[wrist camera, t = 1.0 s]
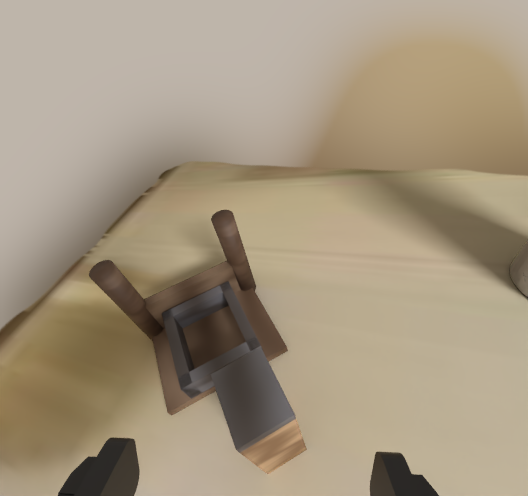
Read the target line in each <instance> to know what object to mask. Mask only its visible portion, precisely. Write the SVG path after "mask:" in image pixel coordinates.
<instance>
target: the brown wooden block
mask: <svg viewBox="0 0 528 496" xmlns="http://www.w3.org/2000/svg"><path fill="white" fill-rule="evenodd" d="M211 377H212V380H213V383H214V386H215V389H216V392H217V395H218V398H219V401H220V404H221V407H222V409H223V412H224V415H225V418H226V421H227V424H228V427H229V430H230V433H231V436H232V439H233V442H234V445H235V448H236V450H237V451H238V452H239V453H241V454H242V455H243V456H245V457H246V458H247V459H249V460H250V461H251V462H253V463H254V464H255V465H256V466H258V467H259V468H260V469H262V470H263V471H264V472H266V473H267V474H269V473H271V472H272V471H274V470H275V469H277V468H278V467H280V466H282V465H283V464H285V463H286V462H288V461H289V460H291V459H293V458H294V457H296V456H297V455H299V454H300V453H302V452H303V451H305V450H307V449H306V446H305V443H304V440H303V437H302V435H301V432H300V429H299V426H298V423H297V420H296V417H295V414H294V412H293V410H292V408H291V406H290V404H289V402H288V400H287V398H286V396H285V394H284V392H283V390H282V388H281V386H280V384H279V382H278V380H277V378H276V376H275V374H274V372H273V370H272V368H271V366H270V364H269V362H268V360H267V358H266V356H265V354H264V352H263V350H262V348H261V347H260V348H258V349H256V350H255V351H253V352H251V353H249V354H247V355H245V356H243V357H242V358H240V359H238V360H236V361H234V362H232V363H231V364H229V365H227V366H225V367H223V368H221V369H219V370H218V371H216V372H214V373H212V374H211Z"/></svg>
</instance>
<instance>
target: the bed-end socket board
mask: <svg viewBox="0 0 528 496" xmlns="http://www.w3.org/2000/svg"><path fill="white" fill-rule="evenodd" d="M211 220H212V223H213V226H214V228H215V231H216V233H217V236H218V238H219V241H220V243H221V246H222V248H223V251H224V253H225V256H226V259H227V261H225V262H223V263H221V264H219V265H217V266H215V267H213V268H210V269H208V270H206V271H204V272H202V273H200V274H198V275H195V276H193V277H191V278H189V279H187V280H185V281H183V282H180V283H178V284H176V285H174V286H172V287H170V288H168V289H165V290H163V291H161V292H159V293H157V294H155V295H153V296H150V297H148V298H146V299H143V298H142V297H141V296H140V294H139V293H138V292H137V291H136V290H135V288H134V287H133V286H132V285H131V284H130V282H129V281H128V280H127V279H126V278H125V276H124V275H123V274H122V273H121V272H120V271H119V269H118V268H117V267H116V266H115V265H114V263H113V262H112V261H110V260H105V261H102V262H99V263H98V264H96V265H95V266H94V267H93V268H92V269H91V270H90V273H89V276H90V278H91V279H92V280H93V281H94V282H95V283H96V284H97V285H98V286H99V287H100V288H101V289H102V290H103V291H104V292H105V293H106V294H107V295H108V296H109V297H110V298H111V299H112V300H113V301H114V302H115V303H116V304H117V305H118V306H119V307H120V308H121V309H122V310H123V312H124V313H125V314H126V315H127V316H128V317H129V318H130V319H131V320H132V321H133V322H134V323H135V324H136V325H137V326H138V327H139V328H140V329H141V330H142V331H143V332H144V333H145V334H146V335H147V336H148V337H149V338H150V339H151V340H153V343H154V348H155V353H156V358H157V362H158V367H159V372H160V377H161V382H162V387H163V392H164V397H165V401H166V406H167V411H168V413H169V414H171V415H173V414H175V413H177V412H178V411H180V410H182V409H184V408H186V407H187V406H189V405H191V404H193V403H195V402H196V401H198V400H200V399H202V398H204V397H205V396H207V395H209V394H211V393H213V392H214V391H216V389H215V386H214V383H213V380H212V377H211V374H212V373H214V372H216V371H218V370H219V369H221V368H223V367H225V366H227V365H229V364H231V363H232V362H234V361H236V360H238V359H240V358H242V357H243V356H245V355H247V354H249V353H251V352H253V351H255V350H256V349H258V348H260V347H261V348H262V350H263V352H264V354H265V356H266V358H267V360H268V361H270V360H272V359H274V358H276V357H277V356H279V355H281V354H283V353H285V352H286V351H288V350H287V347H286V345H285V343H284V341H283V340H282V338H281V336H280V334H279V333H278V331H277V329H276V328H275V326H274V324H273V322H272V321H271V319H270V317H269V315H268V314H267V312H266V310H265V308H264V307H263V305H262V303H261V302H260V300H259V298H258V296H257V295H256V293H255V289H256V285H255V282H254V278H253V275H252V272H251V269H250V266H249V263H248V260H247V256H246V253H245V250H244V247H243V244H242V241H241V237H240V234H239V231H238V228H237V225H236V222H235V219H234V215H233V213H232V212H231V211H229V210H221V211H218V212H216V213H215V214H214V215H213V216H212V218H211Z"/></svg>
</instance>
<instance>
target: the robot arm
mask: <svg viewBox="0 0 528 496" xmlns="http://www.w3.org/2000/svg"><path fill="white" fill-rule="evenodd" d="M510 275H511V278H512V281H513V282H514V284H515V285H516V287H517V288H518V289H519V290H520V291H521V292H522V293H523V294H524V295H526V296H527V297H528V240H527V241H526V243H525V244H524V245H523V247H522V248H521V250H520V251H519V253H518V254H517V256H516V257H515V258H514V260H513V261H512V263H511V266H510ZM138 480H139V464H138V458H137V452H136V445H135V441H134V439H130V438H109V439H108V440H107V441H106V443H105V444H104V446H103V447H102V449H101V451H100V452H99V454H98V456H97V457H87V458H86V459H85V460H84V461H83V462H82V463H81V464H80V465H79V466H78V467H77V468H76V469H75V470H74V471H73V472H72V473H71V474H70V476H69V477H68V479H67V481H66V482H65V484H64V485H63V487H62V488H61V490H60V491H59V493H58V496H134V494H135V492H136V488H137V485H138ZM370 496H439V495H438V494H437V492H436V491H435V490H434V489H433V488H432V486H431V485H430V484H429V483H428V482H427V480H426V479H425V478H424V477H423V475H414V474H411V472H410V469H409V467H408V465H407V462H406V460H405V458H404V456H403V455H402V454H401V453H393V452H376V454H375V459H374V464H373V470H372V475H371V481H370Z"/></svg>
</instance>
